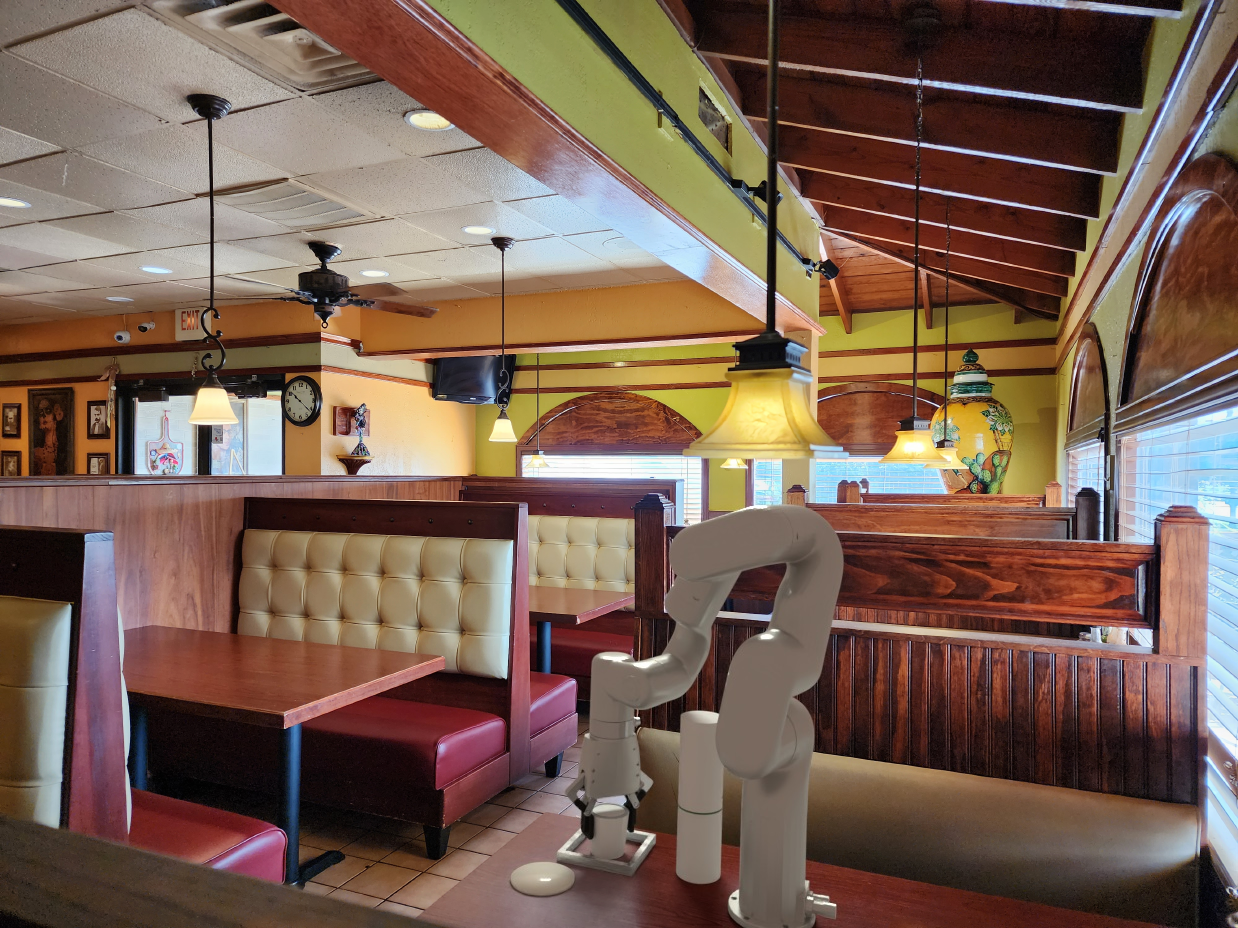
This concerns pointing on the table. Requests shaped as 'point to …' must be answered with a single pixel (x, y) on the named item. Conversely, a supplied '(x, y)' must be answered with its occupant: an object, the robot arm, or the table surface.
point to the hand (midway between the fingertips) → (608, 831)
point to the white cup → (609, 830)
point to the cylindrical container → (699, 799)
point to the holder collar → (602, 863)
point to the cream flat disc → (542, 878)
